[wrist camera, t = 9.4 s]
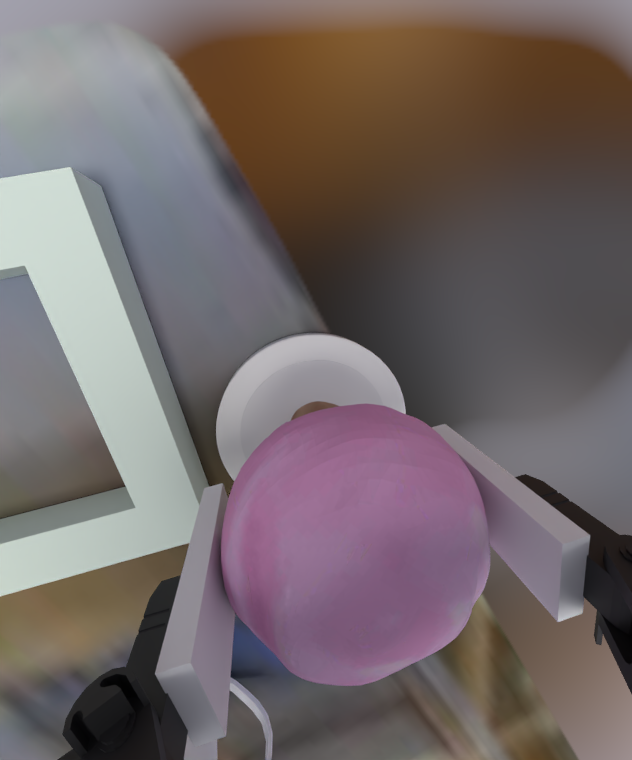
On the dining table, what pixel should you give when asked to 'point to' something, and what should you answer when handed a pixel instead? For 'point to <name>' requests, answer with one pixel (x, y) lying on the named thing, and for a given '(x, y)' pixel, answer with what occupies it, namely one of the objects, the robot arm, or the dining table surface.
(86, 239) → the frame
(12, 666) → the dining table surface
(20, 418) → the dining table surface
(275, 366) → the plate
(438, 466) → the cupcake
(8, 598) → the dining table surface
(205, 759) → the cup
